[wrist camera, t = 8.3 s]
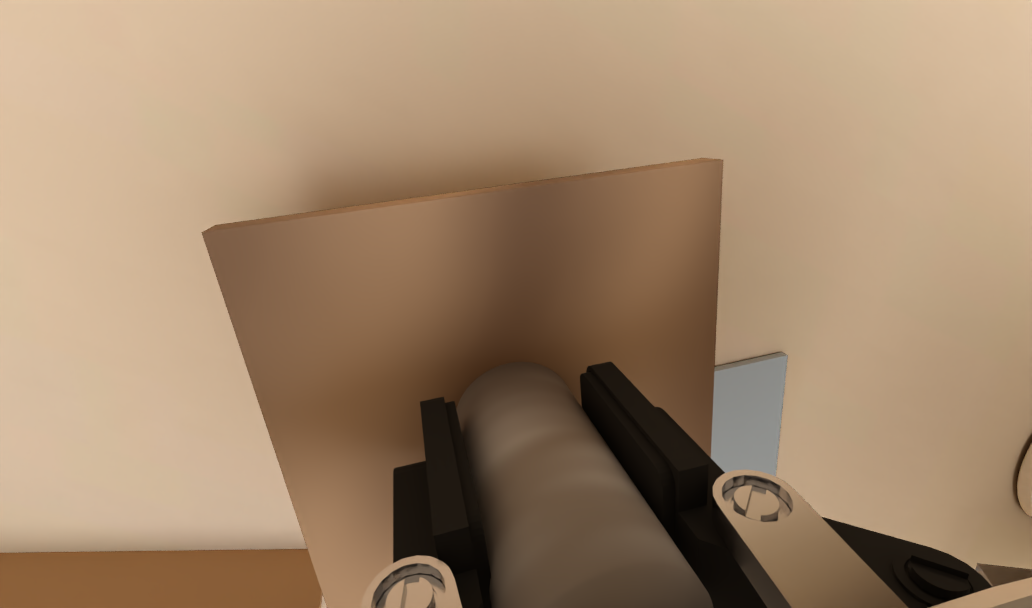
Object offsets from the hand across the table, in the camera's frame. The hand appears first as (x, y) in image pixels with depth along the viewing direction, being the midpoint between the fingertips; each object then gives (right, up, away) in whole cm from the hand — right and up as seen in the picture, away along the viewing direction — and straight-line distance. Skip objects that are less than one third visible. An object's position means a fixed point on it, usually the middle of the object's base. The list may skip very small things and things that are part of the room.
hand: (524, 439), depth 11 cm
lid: (0, +1, +2) cm, 2 cm away
